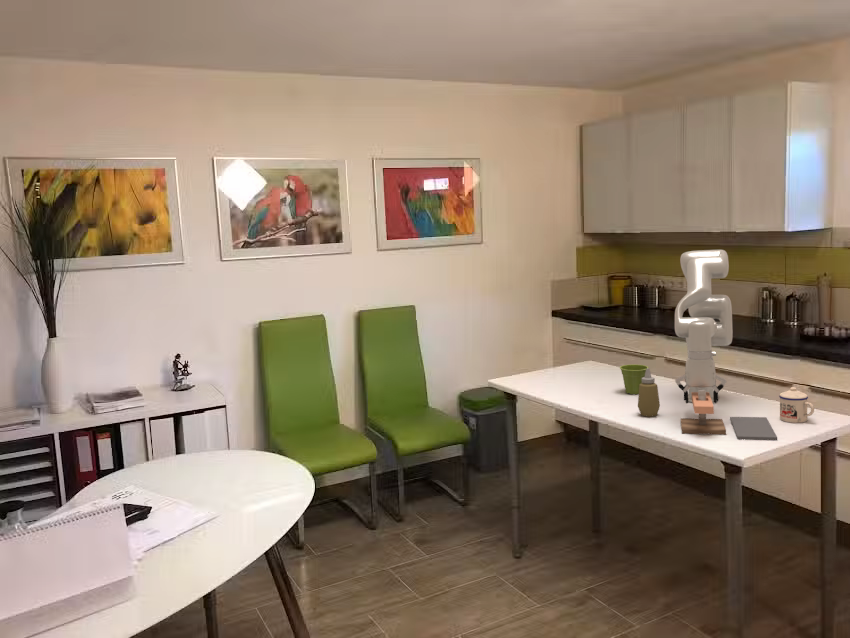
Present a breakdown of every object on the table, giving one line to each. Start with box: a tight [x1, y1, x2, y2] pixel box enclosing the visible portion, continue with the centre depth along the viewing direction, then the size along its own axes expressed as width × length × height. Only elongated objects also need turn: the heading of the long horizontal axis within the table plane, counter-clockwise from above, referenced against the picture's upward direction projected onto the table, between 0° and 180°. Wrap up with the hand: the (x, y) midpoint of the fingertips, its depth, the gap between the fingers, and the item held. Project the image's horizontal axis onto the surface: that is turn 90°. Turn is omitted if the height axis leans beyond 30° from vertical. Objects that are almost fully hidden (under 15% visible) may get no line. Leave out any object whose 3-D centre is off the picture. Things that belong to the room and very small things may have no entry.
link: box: [691, 392, 715, 415], centre depth 248 cm, size 20×6×2 cm, turn 162°
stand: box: [680, 390, 727, 436], centre depth 248 cm, size 14×14×14 cm
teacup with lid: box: [778, 386, 815, 424], centre depth 250 cm, size 12×9×12 cm
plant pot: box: [619, 363, 650, 395], centre depth 304 cm, size 12×12×11 cm
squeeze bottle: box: [637, 368, 661, 418], centre depth 269 cm, size 8×8×18 cm
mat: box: [729, 416, 778, 441], centre depth 244 cm, size 24×12×1 cm, turn 162°
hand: (700, 402), depth 255 cm, fingers open, 9 cm apart
